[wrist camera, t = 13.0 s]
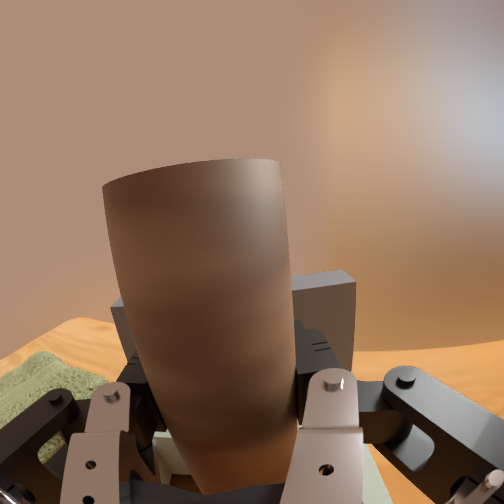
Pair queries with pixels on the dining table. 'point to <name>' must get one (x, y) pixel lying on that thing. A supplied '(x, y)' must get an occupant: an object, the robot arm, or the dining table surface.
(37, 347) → the dining table surface
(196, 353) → the dowel
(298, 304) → the wall
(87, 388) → the washcloth
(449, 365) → the dining table surface
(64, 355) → the dining table surface
